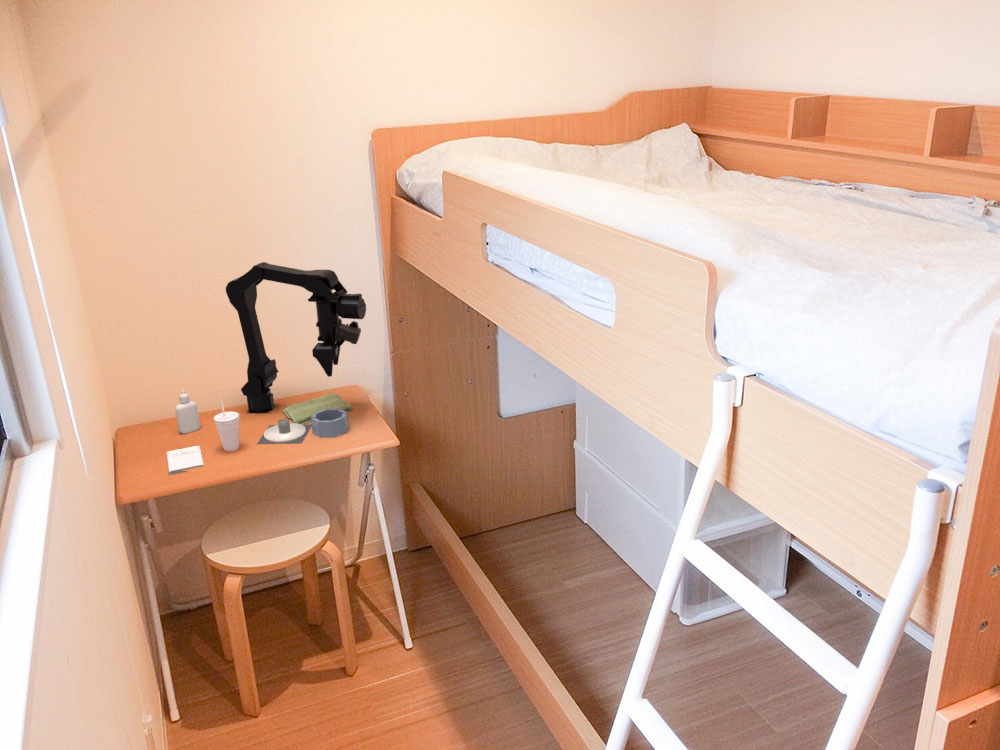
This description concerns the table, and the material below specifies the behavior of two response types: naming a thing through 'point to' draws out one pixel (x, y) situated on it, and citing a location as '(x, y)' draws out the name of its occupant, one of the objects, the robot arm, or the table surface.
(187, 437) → the table surface
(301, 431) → the lid
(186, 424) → the eye dropper bottle
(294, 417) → the washcloth
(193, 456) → the external hard drive
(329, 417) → the bowl
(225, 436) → the smoothie
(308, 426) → the mat
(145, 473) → the table surface
